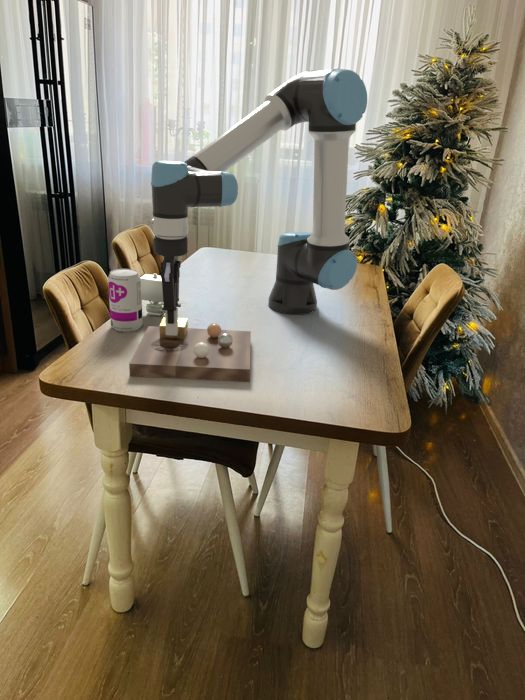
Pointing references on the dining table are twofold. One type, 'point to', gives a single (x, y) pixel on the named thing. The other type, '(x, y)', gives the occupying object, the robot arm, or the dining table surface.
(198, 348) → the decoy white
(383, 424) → the dining table surface
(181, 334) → the block
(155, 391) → the dining table surface
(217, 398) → the dining table surface
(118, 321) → the supplement can
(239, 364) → the board
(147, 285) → the pneumatic valve
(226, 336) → the steel ball
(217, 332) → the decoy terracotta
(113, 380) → the dining table surface
